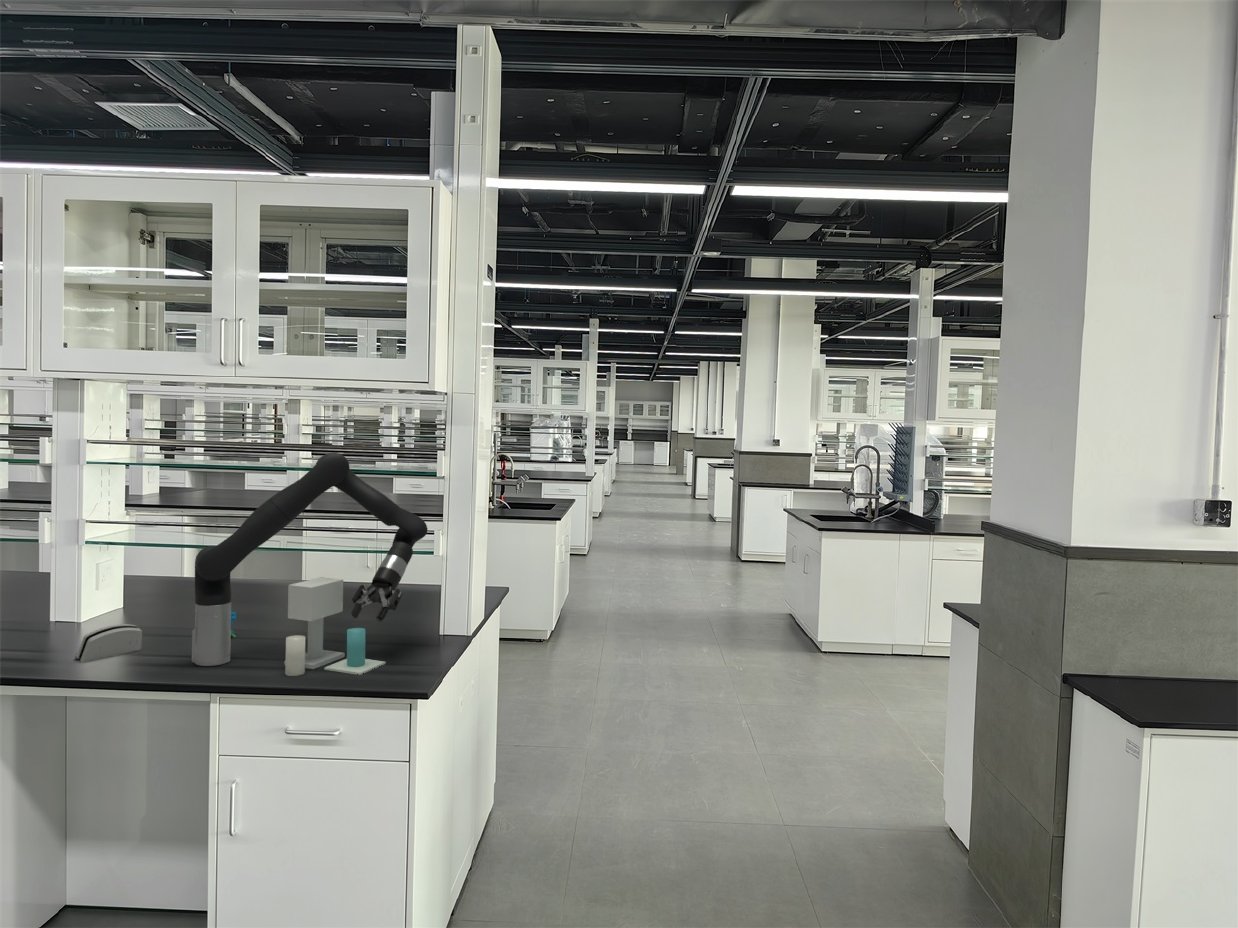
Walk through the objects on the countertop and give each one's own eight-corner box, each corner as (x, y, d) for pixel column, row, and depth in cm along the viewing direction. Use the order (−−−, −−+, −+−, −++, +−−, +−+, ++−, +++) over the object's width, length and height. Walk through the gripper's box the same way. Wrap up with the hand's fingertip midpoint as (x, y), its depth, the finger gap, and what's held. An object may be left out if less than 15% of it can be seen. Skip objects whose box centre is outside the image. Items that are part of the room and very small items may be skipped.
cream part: (281, 674, 224) (281, 638, 224) (293, 669, 229) (294, 634, 229) (296, 676, 223) (296, 640, 222) (308, 671, 228) (309, 636, 227)
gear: (204, 628, 264) (229, 605, 267) (218, 639, 267) (242, 616, 270) (211, 641, 255) (236, 617, 258) (225, 651, 258) (250, 628, 262)
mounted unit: (284, 664, 233) (285, 584, 232) (318, 652, 247) (319, 576, 246) (313, 669, 230) (314, 587, 229) (345, 656, 244) (347, 579, 243)
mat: (324, 669, 230) (324, 667, 230) (350, 658, 241) (351, 656, 241) (360, 674, 226) (360, 672, 226) (385, 663, 238) (385, 661, 238)
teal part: (343, 665, 233) (343, 630, 232) (354, 660, 237) (354, 627, 237) (357, 667, 231) (357, 632, 230) (368, 663, 235) (369, 628, 235)
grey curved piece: (132, 646, 246) (138, 617, 244) (140, 654, 244) (147, 625, 242) (72, 659, 232) (79, 628, 230) (81, 667, 230) (87, 636, 228)
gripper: (365, 563, 248) (340, 608, 237) (405, 567, 243) (381, 613, 233) (375, 578, 253) (351, 622, 242) (414, 582, 248) (392, 628, 238)
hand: (366, 618), depth 237 cm, fingers open, 8 cm apart
